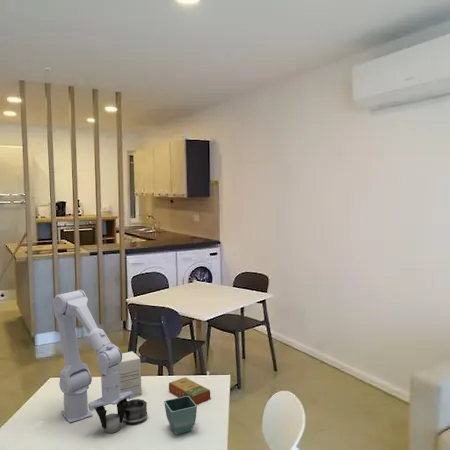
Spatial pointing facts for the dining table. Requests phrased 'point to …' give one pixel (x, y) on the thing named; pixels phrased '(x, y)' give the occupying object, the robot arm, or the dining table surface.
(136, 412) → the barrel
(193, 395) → the carton
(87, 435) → the dining table surface
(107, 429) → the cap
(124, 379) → the supplement box
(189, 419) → the flower pot
